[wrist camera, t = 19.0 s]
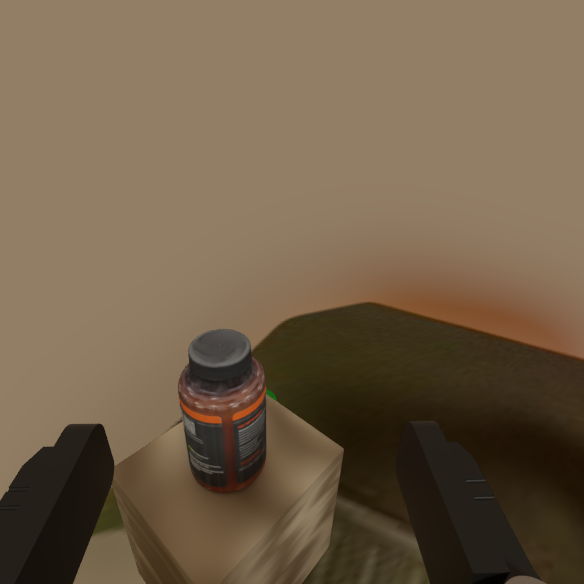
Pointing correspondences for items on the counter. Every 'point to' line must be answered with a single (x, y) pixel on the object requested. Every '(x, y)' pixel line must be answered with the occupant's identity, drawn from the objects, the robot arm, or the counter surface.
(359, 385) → the counter surface
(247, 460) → the supplement bottle
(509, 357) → the counter surface
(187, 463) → the small wooden stand
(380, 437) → the counter surface
